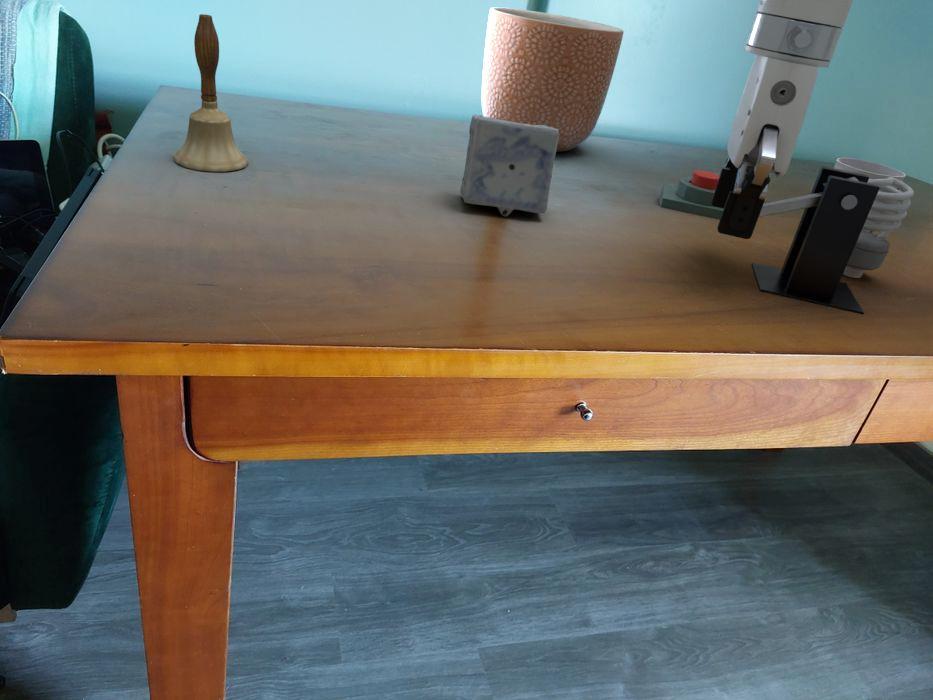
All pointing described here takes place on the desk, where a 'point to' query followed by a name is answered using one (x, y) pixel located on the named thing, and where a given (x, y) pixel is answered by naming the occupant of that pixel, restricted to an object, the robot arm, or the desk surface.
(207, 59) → the hand bell
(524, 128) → the incense holder
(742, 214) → the robot arm
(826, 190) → the bracket
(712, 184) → the button
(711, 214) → the button box
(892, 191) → the light bulb
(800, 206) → the lever
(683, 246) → the desk surface
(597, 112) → the planter
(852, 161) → the cup
